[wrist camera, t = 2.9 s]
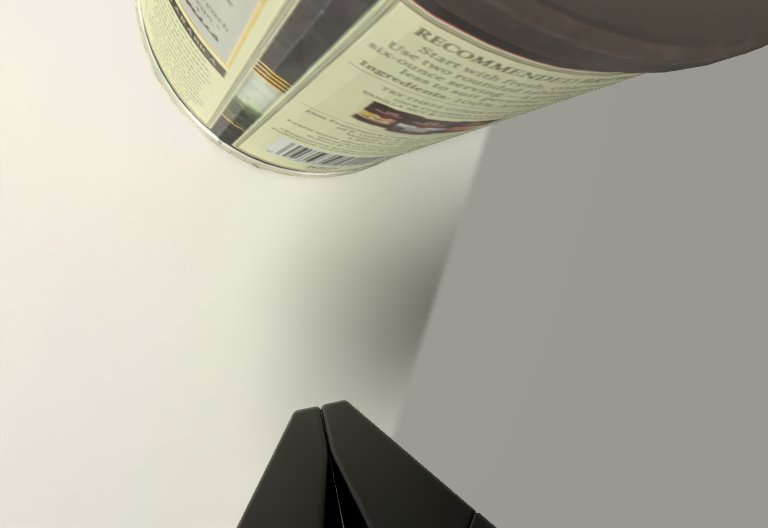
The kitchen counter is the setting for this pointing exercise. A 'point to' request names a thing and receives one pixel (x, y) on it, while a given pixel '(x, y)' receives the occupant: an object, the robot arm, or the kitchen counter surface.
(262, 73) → the coffee can
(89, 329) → the kitchen counter surface
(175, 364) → the kitchen counter surface
